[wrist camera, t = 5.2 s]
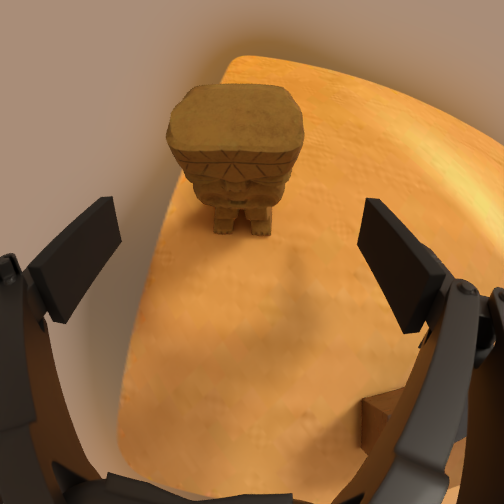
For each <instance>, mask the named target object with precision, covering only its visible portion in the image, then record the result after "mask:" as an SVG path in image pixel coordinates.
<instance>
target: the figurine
mask: <svg viewBox="0 0 504 504" xmlns="http://www.w3.org/2000/svg"><path fill="white" fill-rule="evenodd" d="M166 140H167V143H168V145H169V147H170V149H171V151H172V154H173V155H174V157H175V159H176V161H177V162H178V164H179V165H180V166H181V168H182V169H183V171H184V174H185V177H186V178H187V179H188V180H189V181H190V182H191V183H193V189H194V192H195V194H196V196H197V198H198V199H199V200H200V201H201V202H202V203H203V204H206V205H211V206H213V207H215V218H214V233H217V234H232V231H233V224H234V219H237V217H238V212H239V209H244V210H245V215H246V219H249V220H251V227H252V234H253V235H260V236H268V235H271V223H272V206H275V205H276V204H277V203H278V202H279V201H280V200H281V198H282V196H283V193H284V189H285V183H286V182H287V181H288V180H289V178H290V176H291V172H292V167H293V165H294V163H295V162H296V160H297V158H298V155H299V153H300V150H301V148H302V145H303V141H304V128H303V117H302V112H301V110H300V107H299V106H298V105H297V103H296V102H295V101H294V99H293V98H292V96H291V94H290V93H289V92H288V91H287V90H286V89H284V88H283V87H279V86H274V85H262V84H211V85H201V86H196V87H194V88H192V89H191V90H190V91H189V92H188V93H187V94H186V96H185V97H184V98H183V100H182V101H181V102H180V103H179V104H177V105H176V106H175V108H174V109H173V111H172V112H171V117H170V122H169V125H168V129H167V133H166Z"/></svg>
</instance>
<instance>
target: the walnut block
mask: <svg viewBox="0 0 504 504" xmlns="http://www.w3.org/2000/svg"><path fill="white" fill-rule="evenodd" d="M404 388H405V387H404ZM404 388H401V389H397V390H394V391H390V392H387V393H383V394H379V395H375V396H371V397H367V398H363V399H362V441H361V448H362V450H363V451H364V452H365V453H366V454H367V455H369V454H370V452H371V450H372V449H373V447H374V445H375V444H376V442H377V440H378V438H379V437H380V435H381V433H382V431H383V430H384V428H385V426H386V424H387V422H388V420H389V418H390V416H391V415H392V413H393V411H394V409H395V407H396V405H397V403H398V400H399V398H400V396H401V394H402V392H403V390H404Z"/></svg>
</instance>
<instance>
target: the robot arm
mask: <svg viewBox="0 0 504 504" xmlns="http://www.w3.org/2000/svg"><path fill="white" fill-rule="evenodd" d="M121 242H122V240H121V236H120V231H119V227H118V222H117V217H116V212H115V207H114V202H113V197H112V196H111V197H101V198H99V199H98V200H97V201H96V202H94V203H93V204H92V205H91V206H90V207H88V208H87V209H86V210H85V211H84V212H83V213H82V214H80V215H79V216H78V217H77V218H76V219H75V220H74V221H73V222H71V223H70V224H69V225H68V226H67V227H66V228H65V229H64V230H63V231H62V232H61V233H60V234H59V235H58V236H56V237H55V238H54V239H53V240H52V241H51V242H50V243H49V244H48V245H47V246H46V247H45V248H44V249H43V250H42V251H41V252H40V253H39V254H38V255H37V257H36V258H35V259H34V260H33V261H32V262H31V263H30V264H29V265H28V266H27V268H26V269H25V270H24V271H23V272H22V271H21V268H20V266H19V264H18V261H17V258H16V256H15V254H13V253H9V254H6V255H3V256H1V257H0V504H313V503H310V502H306V501H302V500H296V499H293V495H292V493H288V494H243V495H237V496H232V497H225V498H218V499H211V500H202V501H192V500H188V499H186V498H183V497H180V496H178V495H175V494H173V493H170V492H168V491H166V490H163V489H161V488H159V487H156V486H154V485H152V484H150V483H147V482H143V481H139V480H135V479H131V478H127V477H123V476H120V475H116V474H113V473H110V472H108V474H107V478H106V479H102V478H101V477H100V475H99V474H98V472H97V471H96V470H95V468H94V467H93V466H92V465H91V464H90V462H89V461H88V459H87V458H86V456H85V453H84V451H83V449H82V446H81V444H80V441H79V439H78V437H77V434H76V432H75V429H74V426H73V423H72V420H71V418H70V415H69V412H68V409H67V406H66V403H65V399H64V396H63V393H62V389H61V386H60V382H59V378H58V375H57V371H56V367H55V362H54V359H53V353H52V349H51V344H50V338H49V334H48V327H47V323H46V320H45V319H44V317H43V316H44V315H45V314H46V312H47V311H48V313H49V315H50V317H51V319H52V320H53V322H58V323H63V324H66V323H67V322H68V320H69V318H70V317H71V315H72V313H73V312H74V310H75V309H76V307H77V305H78V304H79V302H80V301H81V299H82V298H83V296H84V295H85V293H86V291H87V290H88V289H89V287H90V286H91V284H92V282H93V281H94V280H95V278H96V277H97V275H98V274H99V272H100V271H101V270H102V268H103V267H104V265H105V264H106V262H107V261H108V260H109V258H110V257H111V256H112V254H113V253H114V251H115V250H116V249H117V247H118V246H119V245H120V243H121ZM357 246H358V247H359V249H360V251H361V253H362V254H363V256H364V258H365V260H366V262H367V263H368V265H369V267H370V269H371V271H372V272H373V274H374V276H375V278H376V280H377V282H378V284H379V286H380V287H381V289H382V291H383V293H384V295H385V297H386V299H387V301H388V303H389V305H390V307H391V309H392V311H393V313H394V315H395V317H396V319H397V321H398V324H399V326H400V328H401V330H402V332H403V334H409V333H417V332H420V330H421V328H422V326H423V324H424V322H425V321H426V322H427V324H428V326H429V329H428V331H427V333H426V334H425V336H424V338H423V340H422V342H421V343H420V345H419V347H418V348H421V349H420V351H419V354H418V356H417V359H416V362H415V364H414V367H413V369H412V371H411V374H410V376H409V379H408V381H407V383H406V385H405V388H404V390H403V392H402V394H401V396H400V398H399V400H398V403H397V405H396V407H395V409H394V411H393V413H392V415H391V416H390V418H389V420H388V422H387V424H386V426H385V428H384V430H383V431H382V433H381V435H380V437H379V438H378V440H377V442H376V444H375V445H374V447H373V449H372V450H371V452H370V454H369V455H368V457H367V458H366V460H365V461H364V463H363V465H362V466H361V468H360V469H359V471H358V472H357V474H356V475H355V476H354V478H353V479H352V480H351V482H350V483H349V484H348V485H347V486H346V487H345V488H344V489H343V490H342V491H341V492H340V493H339V494H338V496H337V497H336V498H335V499H334V500H333V502H332V503H331V504H441V503H442V501H443V499H444V496H445V494H446V492H447V489H448V486H449V476H447V475H446V474H445V473H444V469H445V466H446V463H447V460H448V458H449V455H450V452H451V450H452V447H453V444H454V441H455V438H456V435H457V432H458V428H459V425H460V422H461V418H462V415H463V411H464V407H465V403H466V399H467V394H468V421H467V438H466V449H465V458H464V465H463V472H462V478H461V484H460V489H459V494H458V499H457V503H456V504H504V289H503V288H500V287H496V288H494V290H493V291H492V293H491V295H490V297H486V296H481V295H480V294H479V291H478V290H477V288H476V287H475V286H474V285H473V284H471V283H470V282H468V281H466V280H463V279H455V278H454V276H453V275H452V274H451V273H450V271H449V270H448V269H447V268H446V267H445V265H444V264H443V263H442V262H441V261H440V259H439V258H437V256H436V255H435V254H434V252H433V251H432V250H431V249H430V248H428V247H427V246H425V245H424V244H422V243H420V242H419V241H418V239H417V238H416V237H415V236H414V235H413V234H412V233H411V232H410V231H409V229H408V228H407V227H406V226H405V225H404V224H403V223H402V222H401V221H400V220H399V219H398V218H397V217H396V216H395V214H394V213H393V212H392V211H391V210H390V209H389V208H388V207H387V206H386V205H385V204H384V203H383V202H382V201H381V200H380V199H375V198H366V201H365V206H364V212H363V217H362V223H361V228H360V233H359V238H358V242H357ZM495 341H496V342H495ZM494 342H495V345H493V344H494Z"/></svg>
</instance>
